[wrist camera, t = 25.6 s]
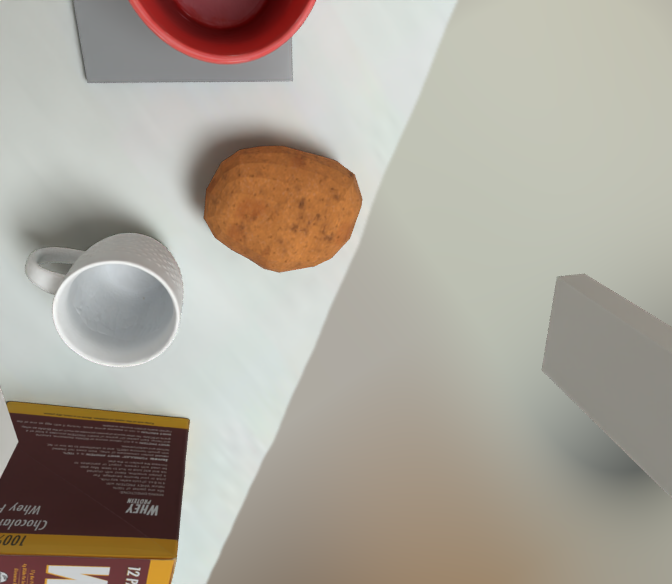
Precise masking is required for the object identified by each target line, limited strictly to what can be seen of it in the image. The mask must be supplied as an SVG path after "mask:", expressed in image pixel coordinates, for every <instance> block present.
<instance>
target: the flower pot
mask: <svg viewBox="0 0 672 584" xmlns="http://www.w3.org/2000/svg"><path fill="white" fill-rule="evenodd" d="M128 1H129V2H130V4H131V6H132V7H133V9H134V10H135V12H136V13H137V14H138V16H139V17H140V18H141V20H142V21H143V22H144V23H145V25H146V26H147V27H148V28H149V29H150V30H151V31H152V32H153V33H154V34H155V35H156V36H158V37H159V38H160V39H161V40H162V41H164V42H165V43H166V44H168V45H169V46H171V47H172V48H174V49H175V50H177V51H179V52H181V53H183V54H185V55H187V56H189V57H192V58H194V59H197V60H200V61H204V62H208V63H214V64H226V65H228V64H240V63H246V62H250V61H253V60H257V59H259V58H261V57H264V56H266V55H268V54H270V53H271V52H273V51H275V50H276V49H278V48H279V47H280V46H282V45H283V44H284V43H286V42H287V41H288V40H289V39H290V38H291V37H292V36H293V35H294V34H295V33H296V32H297V30H298V29H299V28H300V27H301V26H302V24H303V23H304V21H305V20H306V18H307V17H308V15H309V14H310V12H311V10H312V8H313V6H314V4H315V2H316V0H128Z"/></svg>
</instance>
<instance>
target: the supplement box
mask: <svg viewBox="0 0 672 584" xmlns="http://www.w3.org/2000/svg"><path fill="white" fill-rule="evenodd" d="M6 405H7V408H8V412H9V415H10V418H11V421H12V424H13V427H14V430H15V433H16V436H17V439H18V443H17V445H16V447H15V449H14V451H13V453H12V455H11V457H10V459H9V462H8V464H7V466H6V468H5V470H4V472H3V474H2V476H1V478H0V584H171V582H172V578H173V573H174V569H175V565H176V560H177V550H178V539H179V528H180V517H181V505H182V495H183V485H184V476H185V461H186V451H187V441H188V432H189V424H190V420H189V419H185V418H174V417H164V416H153V415H144V414H134V413H124V412H114V411H104V410H94V409H84V408H73V407H63V406H53V405H43V404H33V403H23V402H8V403H7V404H6Z"/></svg>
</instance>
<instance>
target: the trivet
mask: <svg viewBox="0 0 672 584" xmlns="http://www.w3.org/2000/svg"><path fill="white" fill-rule="evenodd" d="M73 2H74V8H75V14H76V19H77V25H78V31H79V37H80V43H81V48H82V54H83V60H84V66H85V71H86V77H87V83H128V82H262V81H293V68H292V37H291V38H290V39H289V40H288V41H287V42H286V43H284V44H283V45H282V46H280V47H279V48H278V49H276V50H275V51H273V52H271V53H270V54H268V55H266V56H264V57H261V58H259V59H257V60H253V61H250V62H246V63H240V64H228V65H226V64H214V63H208V62H204V61H200V60H197V59H194V58H192V57H189V56H187V55H185V54H183V53H181V52H179V51H177V50H175V49H174V48H172V47H171V46H169V45H168V44H166V43H165V42H164V41H162V40H161V39H160V38H159V37H158V36H156V35H155V34H154V33H153V32H152V31H151V30H150V29H149V28H148V27H147V26H146V25H145V23H144V22H143V21H142V20H141V18H140V17H139V16H138V14H137V13H136V12H135V10H134V9H133V7H132V6H131V4H130V2H129V1H128V0H73Z"/></svg>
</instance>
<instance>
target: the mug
mask: <svg viewBox="0 0 672 584" xmlns="http://www.w3.org/2000/svg"><path fill="white" fill-rule="evenodd" d="M44 263H66V264H73V266H72V267H71V268H70V269H69V272H68V273H67V274H66V275H64V274H60V273H56V272H53V271H49V270H46V269H44V268H42V267H41V266H40V264H44ZM25 272H26V275H27V277H28V279H29V280H30V281H31V282H32V283H34V284H35V285H36V286H38V287H39V288H41V289H42V290H44V291H46V292H49V293H51V294H54V295H55V296H54V299H53V305H52V315H53V321H54V325H55V328H56V330H57V332H58V334H59V335H60V337H61V339H62V340H63V341H64V342H65V344H66V345H67V346H68V347H69V348H70V349H71V350H73V351H74V352H75V353H77V354H78V355H80V356H81V357H83V358H85V359H87V360H89V361H91V362H94V363H97V364H100V365H105V366H111V367H129V366H135V365H139V364H143V363H146V362H148V361H150V360H152V359H154V358H156V357H157V356H159V355H160V354H161V353H163V352H164V351H165V350H166V349H167V348H168V347H169V345H170V344H171V343H172V341H173V340H174V338H175V336H176V334H177V331H178V328H179V325H180V319H181V313H182V306H183V293H184V291H183V290H184V289H183V282H182V275H181V273H180V268H179V267H178V265H177V262H176V261H175V259H174V257H173V256H172V254H171V252H169V251H168V249H167V248H166V247H165V246H164V245H163V244H161V243H160V242H158V241H157V240H156V239H154V238H151V237H149V236H146V235H143V234H138V233H122V234H116V235H113V236H110V237H107V238H105V239H103V240H101V241H99V242H97V243H95V244H94V245H93V246H91V247H90V248H89V249H88V250H87V251H81V250H76V249H70V248H61V247H47V248H41V249H38V250H36V251H34V252H32V253H31V254H30V256H29V257H28V259H27V261H26V265H25Z"/></svg>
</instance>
